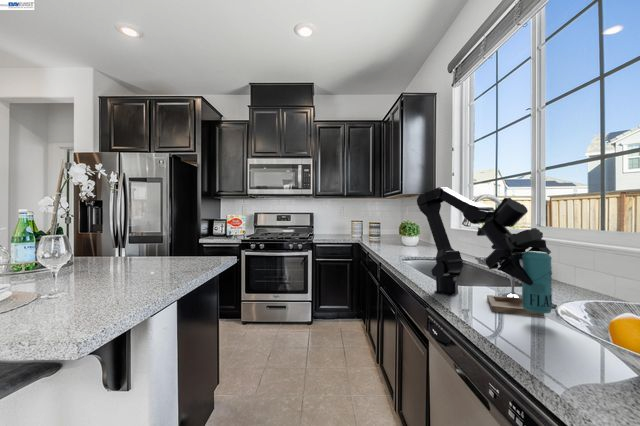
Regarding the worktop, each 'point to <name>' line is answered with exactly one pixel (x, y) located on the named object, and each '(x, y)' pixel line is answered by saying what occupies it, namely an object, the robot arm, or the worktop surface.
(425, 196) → the robot arm
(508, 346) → the worktop surface
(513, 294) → the wine glass
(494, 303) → the walnut tray
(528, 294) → the beverage bottle
